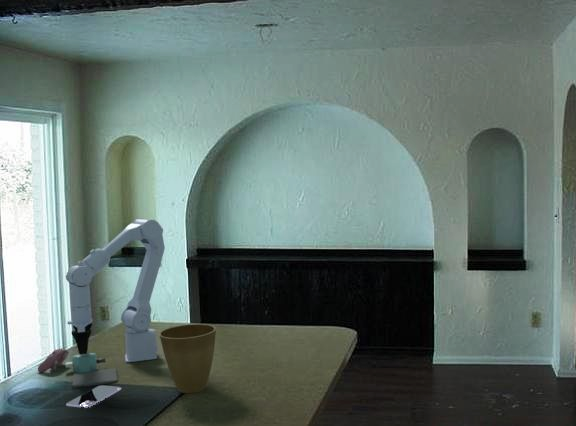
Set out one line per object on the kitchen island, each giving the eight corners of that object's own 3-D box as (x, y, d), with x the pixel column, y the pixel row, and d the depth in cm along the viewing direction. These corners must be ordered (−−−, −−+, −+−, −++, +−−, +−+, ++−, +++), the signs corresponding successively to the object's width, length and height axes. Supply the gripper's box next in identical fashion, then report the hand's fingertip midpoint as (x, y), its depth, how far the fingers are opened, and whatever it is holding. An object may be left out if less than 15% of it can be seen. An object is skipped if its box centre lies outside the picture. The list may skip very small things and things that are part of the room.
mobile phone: (123, 386, 181) (88, 405, 167) (123, 389, 181) (88, 409, 167) (99, 384, 183) (63, 403, 169) (99, 387, 183) (64, 407, 169)
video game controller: (48, 378, 198) (56, 358, 197) (35, 371, 198) (43, 351, 197) (65, 368, 207) (73, 348, 206) (53, 361, 208) (61, 342, 207)
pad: (116, 369, 198) (116, 368, 198) (117, 382, 186) (116, 380, 186) (74, 375, 194) (74, 373, 194) (72, 387, 183) (72, 385, 183)
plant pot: (211, 376, 187) (208, 321, 186) (225, 392, 173) (221, 332, 172) (158, 385, 182) (155, 327, 181) (168, 402, 168) (164, 340, 167)
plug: (105, 365, 203) (104, 351, 202) (105, 369, 199) (104, 354, 198) (66, 370, 200) (65, 355, 199) (65, 374, 196) (64, 359, 195)
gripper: (67, 302, 204) (70, 345, 205) (65, 311, 190) (68, 358, 191) (91, 300, 205) (94, 343, 206) (90, 309, 192) (93, 355, 192)
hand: (83, 350), depth 199 cm, fingers open, 7 cm apart
